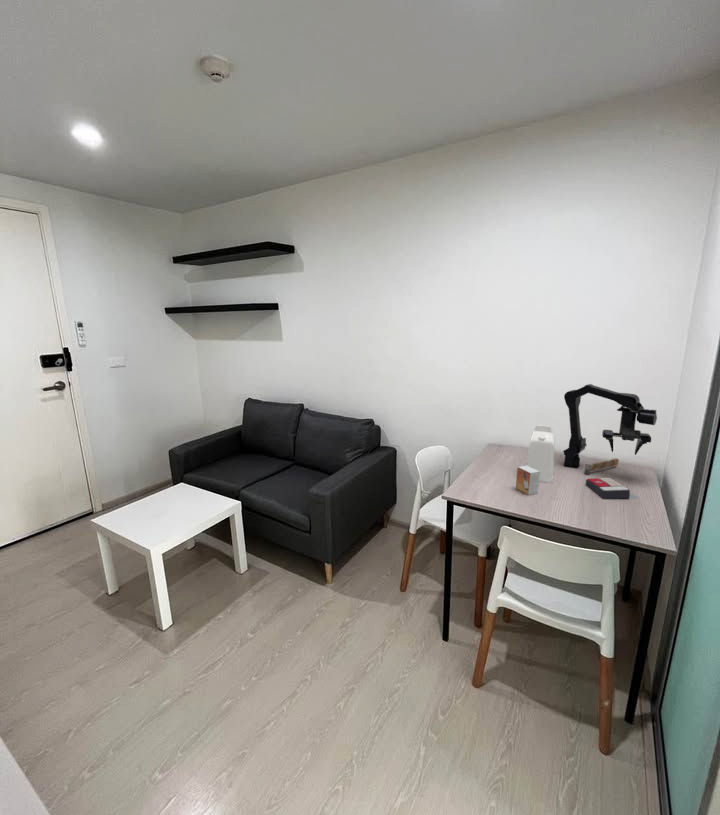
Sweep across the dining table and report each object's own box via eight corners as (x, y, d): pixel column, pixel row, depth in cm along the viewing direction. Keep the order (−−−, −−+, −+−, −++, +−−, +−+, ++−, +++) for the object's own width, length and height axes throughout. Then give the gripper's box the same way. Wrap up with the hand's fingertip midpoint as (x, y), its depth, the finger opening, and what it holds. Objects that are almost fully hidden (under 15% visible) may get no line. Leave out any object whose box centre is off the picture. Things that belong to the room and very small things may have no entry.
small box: (515, 488, 182) (517, 466, 179) (524, 486, 184) (526, 465, 181) (528, 495, 174) (530, 472, 172) (538, 493, 176) (540, 471, 174)
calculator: (610, 476, 183) (630, 488, 168) (609, 485, 184) (630, 498, 169) (585, 477, 184) (603, 489, 169) (585, 486, 184) (603, 499, 170)
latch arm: (587, 475, 194) (588, 466, 193) (583, 474, 196) (584, 464, 195) (618, 468, 203) (619, 459, 202) (614, 467, 206) (615, 457, 205)
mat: (614, 495, 174) (614, 494, 174) (611, 484, 185) (611, 483, 185) (638, 499, 170) (638, 498, 170) (634, 487, 181) (634, 487, 181)
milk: (552, 475, 197) (558, 424, 191) (552, 483, 187) (557, 430, 182) (526, 471, 202) (531, 421, 197) (524, 479, 192) (528, 427, 187)
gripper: (606, 423, 182) (602, 455, 186) (655, 427, 174) (650, 461, 177) (604, 417, 192) (600, 448, 195) (651, 421, 184) (646, 454, 187)
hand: (623, 453), depth 189 cm, fingers open, 9 cm apart
